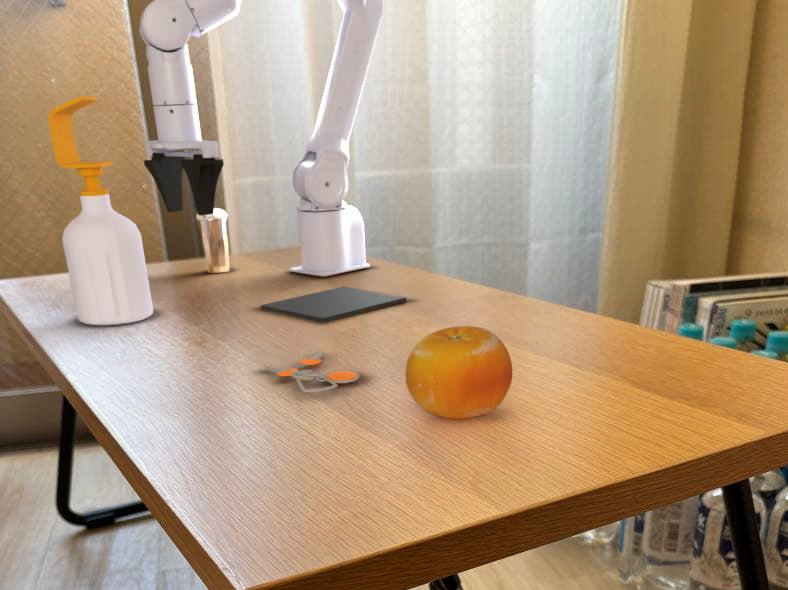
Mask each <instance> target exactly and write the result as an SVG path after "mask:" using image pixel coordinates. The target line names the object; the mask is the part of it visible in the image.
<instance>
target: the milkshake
mask: <svg viewBox="0 0 788 590" xmlns="http://www.w3.org/2000/svg"><path fill="white" fill-rule="evenodd" d="M195 217H196V221H197V226H198V230H199V234H200V238H201V244H202V248H203V253H204V258H205V263H206V268H207V272H208V273H209V274H210V273H211V274H221V273H222V274H223V273H227V272H230V254H229V253H230V252H229V231H228V229H229V228H228V225H229V224H228V213H227V211H225V210H224V209H222V208H218V207H214V211H213V214H208V215H198V213H197V212H196V216H195Z"/></svg>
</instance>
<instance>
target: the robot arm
mask: <svg viewBox="0 0 788 590" xmlns="http://www.w3.org/2000/svg"><path fill="white" fill-rule="evenodd" d="M337 2H338V4H339V6H340V8H341V10H342V11H343V16H342V19H341V20H342V21H341V23H340V28H339V32H338V36H337V40H336V44H335V47H334V52H333V56H332V60H331V64H330V67H329V72H328V74H327V79H326V83H325V87H324V90H323V95H322V99H321V102H320V107H319V110H318V114H317V118H316V123H315V125H314V130H313V133H312V135H311V137H310V139H309V141H308V143H307V145H306V147H305V151H304V154H303V157H302V158H301V159H300V161H299V162H297V164H296V166H295V167H294V169H293V171H292V178H291V180H292V181H291V182H292V186H293V189H294V191H295V193H296V194H297V195H298V197H300V199H299V202H298V204H297V205H296V209H297V210H296V212H297V225H298V237H299V249H300V259H301V260H300V261H301V265H299V266H293V267H290V268H289V272H293V273H298V274H305V275H310V276H316V277H317V276H318V277H328V276H329V277H330V276H333V275H338V274H343V273H348V272H353V271H357V270H362V269H367V268H370V267H371V266H370V264H369V263H367V260H366V259H367V258H366V239H365V224H364V219H363V217H362V215H361V213H360V211H359V210H358V209H357V208H356V207H354V206H353V205H347V202H346V201H345V198H346V196H347V194H348V191H349V177H348V166H349V161H350V151H349V141H350V137H351V135H352V130H353V126H354V122H355V118H356V114H357V111H358V108H359V104H360V99H361V97H362V92H363V89H364V85H365V82H366V77H367V74H368V71H369V66H370V62H371V59H372V55H373V51H374V48H375V44H376V40H377V38H378V37H377V36H378V33H379V28H380V26H381V22H382V18H383V15H384V9H385V3H384V0H337ZM241 3H242V0H152V1H151V2H149V4H148V5H146V7H145V8H144V10H143V12H142V13H141V15H140V20H139V28H138V31H139V34H140V37H141V39H142V41H143V42H144V44H145V45H146V49H145V57H146V60H147V62H148V66H147V75H148V81H149V88H150V95H151V100H152V108H153V114H154V119H155V121H154V122H155V127H156V134H157V140H156V139H155V140H146V141H145V147H146V153H147V156H148V157H151V159H144V160H143V165H144V167H145V168H146V169H147V170H148V172H149V173H150V175H151V176H152V179H153V180H154V182H155V184H156V186H157V188H158V190H159V193H160V195H161V197H162V201H163V203H164V206H165V208H166V210H167V212H168V213H175V212H182V211H183V208H184V197H183V172H185V174H186V177H187V179H188V182H189V185H190V189H191V192H192V197H193V202H194V206H195V210H196V214H197V213H198V215H208V214H213V211H214V208H215V200H216V191H217V186H218V181H219V178H220V175H221V171H222V169H223V167H224V166H225V163H224V158H219V157H220V152H219V144H218V141H216V140H206V139H202V131H201V124H200V118H199V109H198V103H197V94H196V86H195V79H194V72H193V66H192V64H191V62H190V61H191V60H190V53H189V45H188V41H189V40H190V36H191V37H194V38H199V37H201V36H203V35H204V34H206V33H208V32H210V31H212V30H214V29H215V28H216V27H219V26H220V25H222V24H224V23H225V22H228V21H229V20H231V19H232V18H234V17H236V16H238V15H239V13H240V8H241ZM179 150H183V151H179ZM186 158H189V159H186Z"/></svg>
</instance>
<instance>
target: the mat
mask: <svg viewBox="0 0 788 590" xmlns="http://www.w3.org/2000/svg"><path fill="white" fill-rule="evenodd" d="M407 301H408V300H407V297H406V296H400V295H395V294H388V293H383V292H377V291H371V290H367V289H366V290H365V289H362V288H361V289H360V288H354V287H350V286H349V287H348V286H340V287H336V288H331V289H327V290H321V291H318V292H313V293H309V294H305V295H300V296H299V295H298V296H296V297H290V298H287V299H282V300H277V301H272V302H269V303H264V304H261V305H260V309H261V310H265V311H268V312H274V313H278V314H283V315H287V316H291V317H297V318H302V319H307V320H310V321H315V322H319V323H326V322H329V321H334V320H338V319H341V318H346V317H349V316H353V315H358V314H362V313H365V312H369V311H373V310H377V309H381V308H385V307H389V306H393V305H398V304H401V303H405V302H407Z"/></svg>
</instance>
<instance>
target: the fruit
mask: <svg viewBox="0 0 788 590" xmlns="http://www.w3.org/2000/svg"><path fill="white" fill-rule="evenodd" d="M511 359H512V358H511V356H510V353H509V351H508V349H507V347H506V345H505V344H504V343H503V341H502V339H500V337H499V336H497V335H496V334H495V333H493V332H492V331H490V330H488V329H486V328H483V327H479V326H473V325H461V326H450V327H446V328H442V329H439V330H435V331H433V332H430V333H429V334H427V335H426V336H424V337H423V338H421V339H420V341H418V342H417V343H416V345H415V346H414V347H413V349H412V350H411V352H410V354H409V356H408V359H407V361H406V366H405V384H406V387H407V390H408V392H409V394H410V395H411V397H412V399H413V400H414V402H415V403H417V405H419V406H420V407H421V408H422V409H423V410H424V411H426V412H427V413H429V414H431V415H434V416H437V417H442V418H444V419H453V420H464V419H471V418H477V417H481V416H485V415H488V414H489V413H491V412H493V411H494V410H496V409H497V408H498V407H499V406H500V405H501V404H502V402H503V401H504V399H505V398H506V396H507V394H508V392H509V390H510V387H511V384H512V382H513V363H512V360H511Z"/></svg>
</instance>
